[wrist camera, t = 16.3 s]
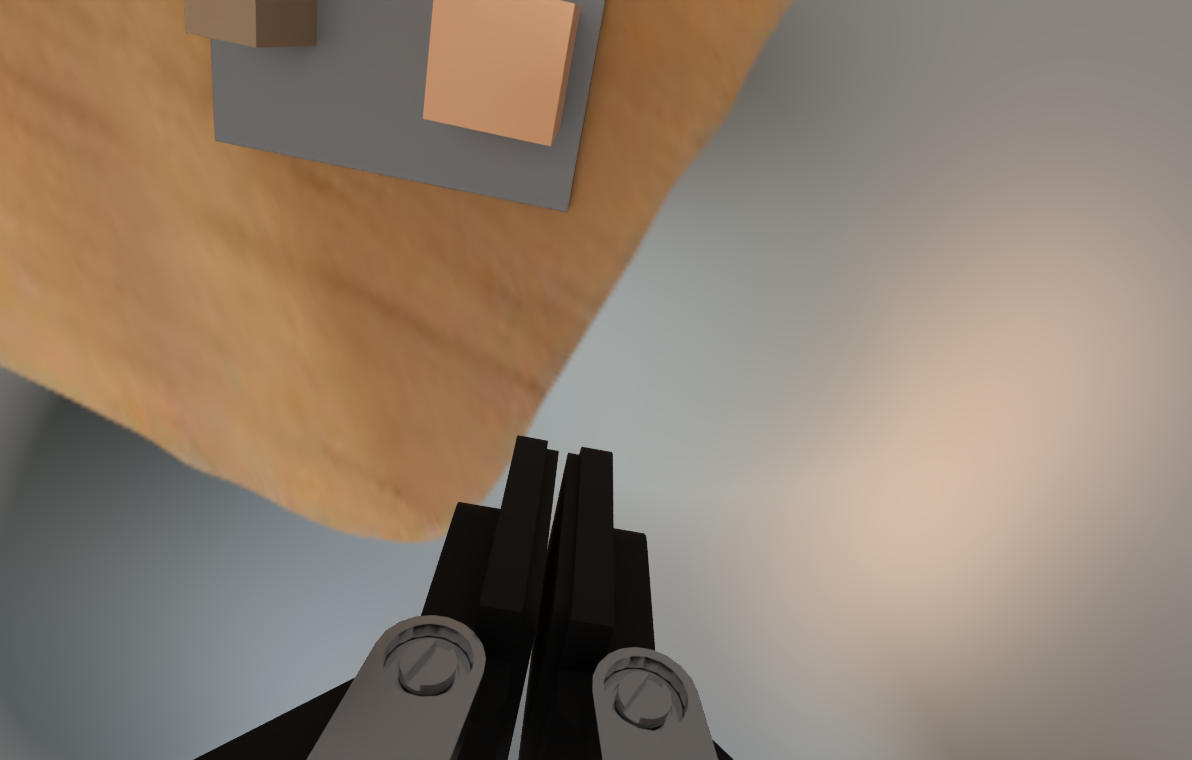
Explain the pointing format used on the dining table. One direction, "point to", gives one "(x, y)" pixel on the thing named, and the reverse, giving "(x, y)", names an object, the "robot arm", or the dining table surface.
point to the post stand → (374, 95)
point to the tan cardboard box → (501, 66)
